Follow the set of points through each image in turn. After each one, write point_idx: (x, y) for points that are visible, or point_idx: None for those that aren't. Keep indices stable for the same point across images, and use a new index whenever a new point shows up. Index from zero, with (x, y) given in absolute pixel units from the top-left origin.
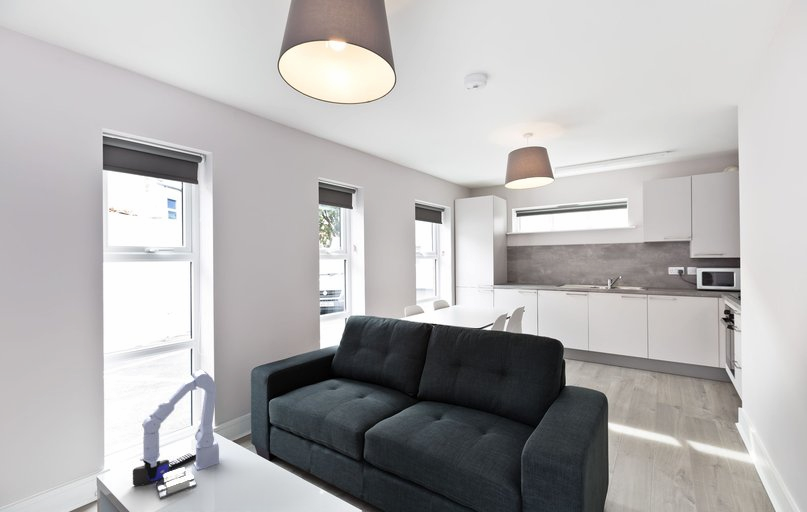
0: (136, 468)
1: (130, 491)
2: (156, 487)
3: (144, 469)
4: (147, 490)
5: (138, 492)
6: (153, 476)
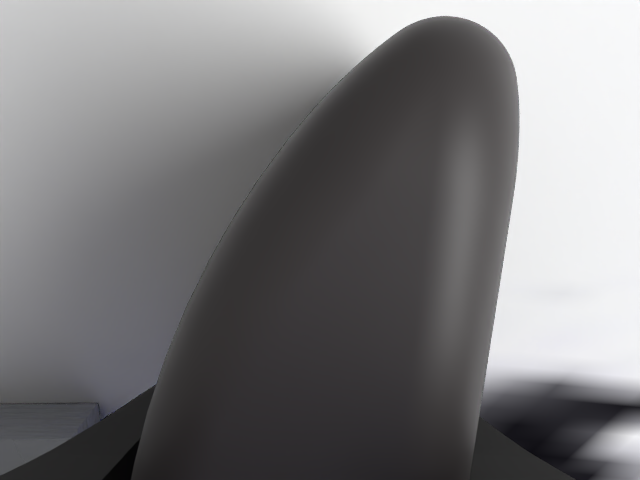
0: (349, 164)
1: (219, 13)
2: (40, 409)
3: (150, 428)
4: (60, 277)
5: (83, 141)
6: None
